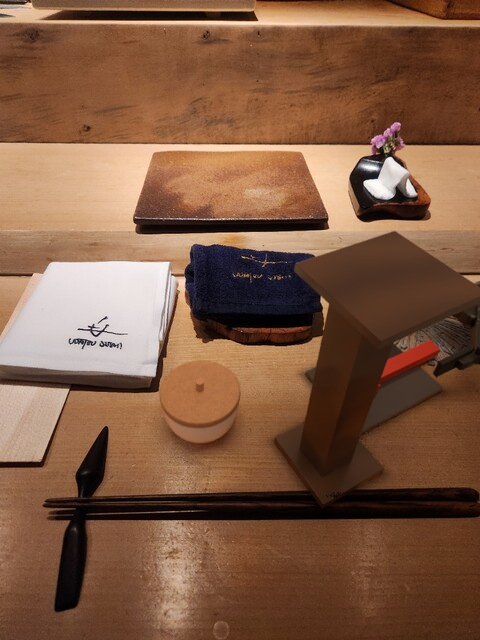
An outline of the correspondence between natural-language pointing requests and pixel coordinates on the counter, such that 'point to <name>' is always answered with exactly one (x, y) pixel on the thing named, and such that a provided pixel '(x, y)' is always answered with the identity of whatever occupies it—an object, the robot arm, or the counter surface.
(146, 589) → the counter surface
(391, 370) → the red block
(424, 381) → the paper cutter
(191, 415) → the trinket box
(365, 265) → the pedestal stand
